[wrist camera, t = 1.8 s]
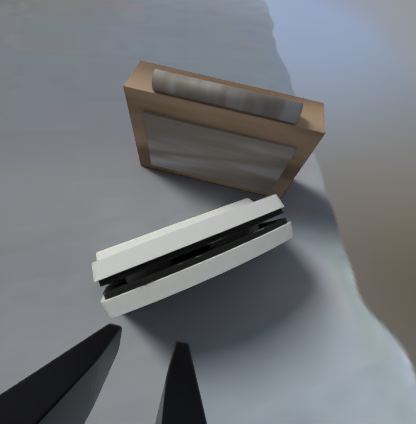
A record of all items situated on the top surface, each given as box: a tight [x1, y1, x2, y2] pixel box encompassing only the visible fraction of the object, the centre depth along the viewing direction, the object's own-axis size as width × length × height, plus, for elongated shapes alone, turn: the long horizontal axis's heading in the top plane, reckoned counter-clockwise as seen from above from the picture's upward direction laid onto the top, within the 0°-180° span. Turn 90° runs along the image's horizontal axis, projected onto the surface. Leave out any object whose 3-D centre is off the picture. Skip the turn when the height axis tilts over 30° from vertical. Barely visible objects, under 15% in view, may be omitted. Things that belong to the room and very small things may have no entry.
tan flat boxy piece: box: [123, 61, 325, 199], centre depth 24 cm, size 4×17×11 cm, turn 78°
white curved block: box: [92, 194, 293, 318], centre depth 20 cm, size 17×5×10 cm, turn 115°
